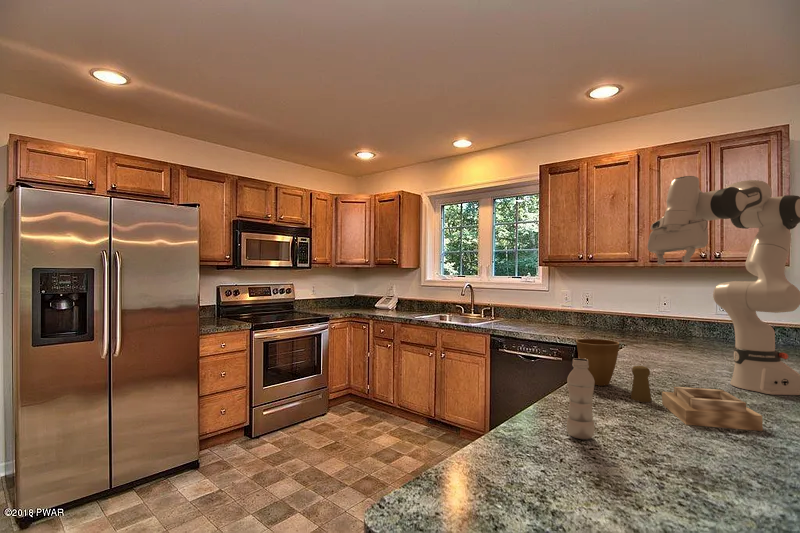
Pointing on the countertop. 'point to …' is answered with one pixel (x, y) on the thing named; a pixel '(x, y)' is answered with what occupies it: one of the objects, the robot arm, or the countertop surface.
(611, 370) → the plant pot
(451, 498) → the countertop surface
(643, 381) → the cork
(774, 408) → the countertop surface
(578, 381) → the plastic bottle
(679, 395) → the display stand
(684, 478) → the countertop surface
